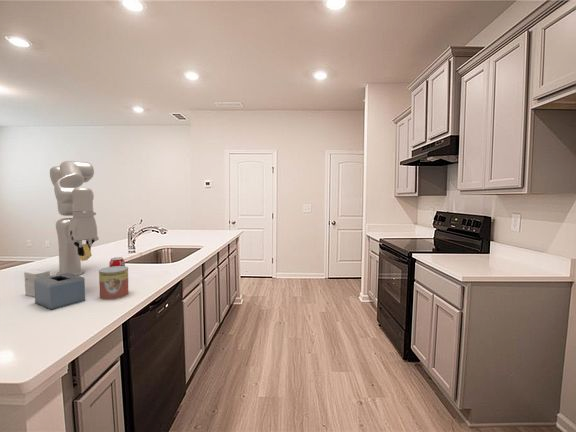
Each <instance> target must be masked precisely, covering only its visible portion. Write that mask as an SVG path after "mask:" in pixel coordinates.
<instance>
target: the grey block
mask: <svg viewBox="0 0 576 432" xmlns="http://www.w3.org/2000/svg"><path fill="white" fill-rule="evenodd" d="M85 286H86V285H85V277H83V276H81V275H78V276H77V275H74V274H71V273H64V274H59V275H56V274H54V275H50V276H48V277H43V278H38V279H34V289H35V297H34V303H35V304H37V305H39V306H41V307H43V308H45V309H47V310H50V311H53V310H56V309H60V307H61V308H64V307H67V305H68V306H71V305H74V303H75V304H79V303H81V302H85V301H86V295H85V294H86V289H85ZM70 304H71V305H70ZM63 306H64V307H63Z"/></svg>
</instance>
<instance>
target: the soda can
mask: <svg viewBox="0 0 576 432" xmlns="http://www.w3.org/2000/svg"><path fill="white" fill-rule="evenodd" d="M108 265H109V266H108V267H113V266H126V261H125V259H124V257H120V256H119V257H118V256H117V257H112V258H110V261H109V264H108Z"/></svg>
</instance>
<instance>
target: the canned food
mask: <svg viewBox="0 0 576 432" xmlns="http://www.w3.org/2000/svg"><path fill="white" fill-rule="evenodd" d="M98 277H99V281H98V282H99V299H101V300H107V301H110V300H118V299H121V298H125V297H127V296H128V295H129V294H130V292H129V267H128V266H126V265H125V266H113V267H109V266H108V267H103V268H100V269H99V270H98Z"/></svg>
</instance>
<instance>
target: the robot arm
mask: <svg viewBox="0 0 576 432" xmlns="http://www.w3.org/2000/svg"><path fill="white" fill-rule="evenodd" d="M94 175H95V168H94V166H93V165H92V164H91V163H90V162H85V161H79V160H78V161H75V160H65V161H62V162H61V163H60V164H59V165H57V166H52V167H51V168H50V169H49V177H50V180H51V184H52V185H53V187H54V189H53V192H54V195H55V199H56V201H57V204H56V205H57V210H58V214H59V215H60V216H63V217H64V218H60V219H58V220H57V221H55V230H56V233H57V234H56V235H57V242H58V266H59V267H58V268H59V271H58V272H56V273H55V275H59V274H64V273H71V274H74V275H77V276H81V275H83V274H85V270H84V269H82V266H81V265H82V261H81V259H80V256H83V247H82V244H83V241H85V244H88V247H89V249H90V251H91V252H92V249H91V248H92V246H93V244H94V243H95V242H97V241H99V236H98V227H97V221H96V219H95V216H96V215H97V213H96V212H94V197H95V195H94V192H93V190H92V188H88V187H81V186H82V185H83V184H84V183H88V182H90V180H91V179H93V177H94ZM77 249H78V251H77Z"/></svg>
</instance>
